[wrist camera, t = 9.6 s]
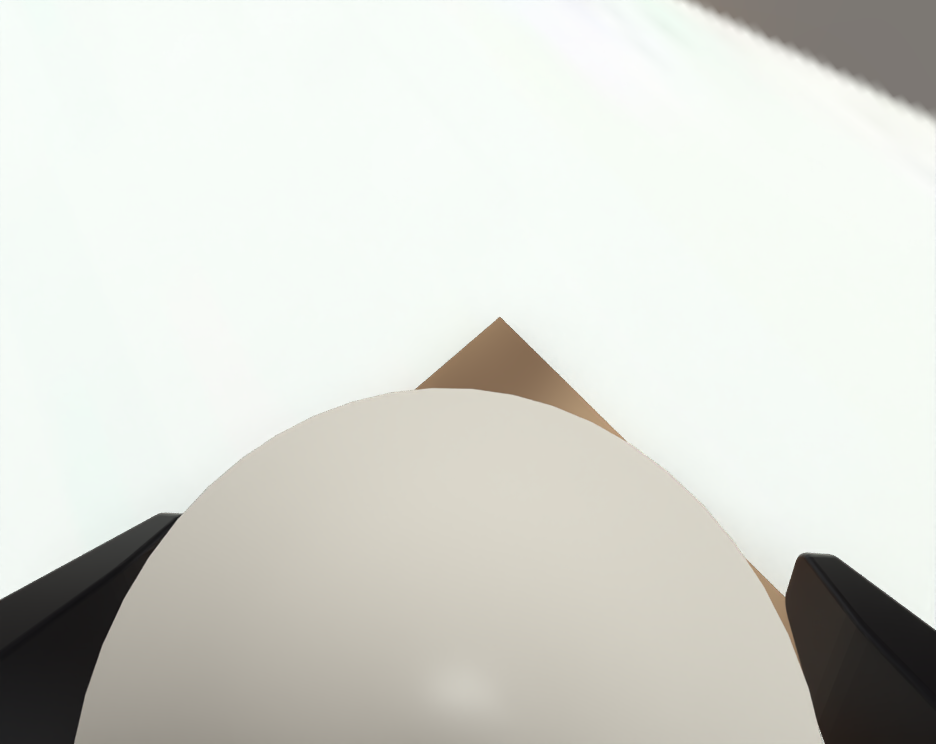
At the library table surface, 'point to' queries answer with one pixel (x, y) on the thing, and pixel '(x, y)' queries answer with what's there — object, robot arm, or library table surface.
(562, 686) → the frosted light bulb
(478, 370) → the walnut board
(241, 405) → the library table surface
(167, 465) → the library table surface
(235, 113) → the library table surface
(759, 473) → the library table surface
